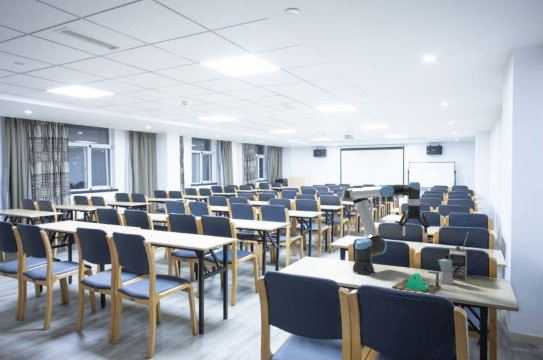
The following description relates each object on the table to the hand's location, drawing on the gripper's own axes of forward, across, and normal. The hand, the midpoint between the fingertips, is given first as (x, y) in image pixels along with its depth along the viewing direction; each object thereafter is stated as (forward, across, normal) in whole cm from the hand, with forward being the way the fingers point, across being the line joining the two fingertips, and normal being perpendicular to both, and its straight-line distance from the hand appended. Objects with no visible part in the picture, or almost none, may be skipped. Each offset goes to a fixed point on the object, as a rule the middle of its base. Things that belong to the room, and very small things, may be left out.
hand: (413, 236), depth 245 cm
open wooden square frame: (+29, +8, -18) cm, 35 cm away
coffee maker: (+29, +20, +6) cm, 36 cm away
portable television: (+29, +21, +26) cm, 44 cm away
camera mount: (+29, +10, -19) cm, 36 cm away
